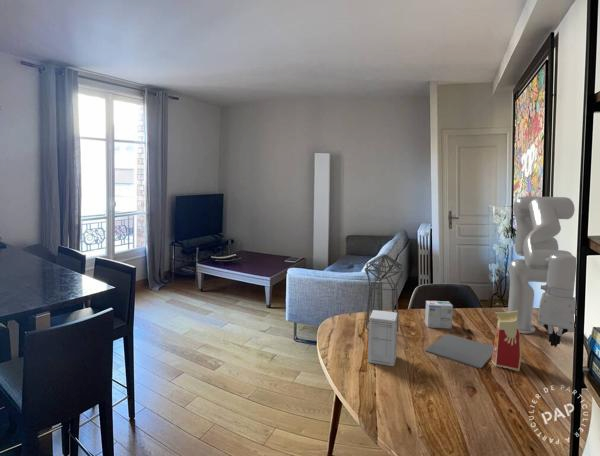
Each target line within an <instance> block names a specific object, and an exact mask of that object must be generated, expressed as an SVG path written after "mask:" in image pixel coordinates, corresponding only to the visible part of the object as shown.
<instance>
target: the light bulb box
mask: <svg viewBox="0 0 600 456" xmlns="http://www.w3.org/2000/svg"><path fill="white" fill-rule="evenodd" d="M453 310H454V305H453V304H452V303H451V302H450V301H447V300H445V301H444V300H443V301H440V300H425V313H424V314H425V316H424V323H425V325H426V327H427V328H434V329H451V330H452V328H453V312H454V311H453Z"/></svg>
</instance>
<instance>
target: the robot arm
mask: <svg viewBox="0 0 600 456" xmlns="http://www.w3.org/2000/svg"><path fill="white" fill-rule="evenodd" d="M512 206H513V215H514V218H515V222H516V230H515V244H514V251H515V254H516V255H518V256H521V257H524V258H518V259H513V260H512V261H511V262H510V263H509V266H508V270H509V271H508V272H509V294H508V302H507V303H508V304H507V306H508V307H507V312H512V311H518V313H517V324H518V328H519V333H520V334H523V335H525V334H528V335H529V334H534V333H535V332H536V328H535V327H534V326H533V325H532V323H533V321H532V320H533V312H534V304H535V303H534V300H535V291H534V288H533V287H532V286H531V284H530V282H535V283H545V284H544V285H542V284H541V285H540V290H543V291H544V292H543V293H542V294H541V298H540V300H539V306H538V312H537V321H536V324H537V325H538V326H541V327H544V329H545V330H546V331H547V332H548V343H550V346H551V347H554V348H557V347H558V345H561V344H560V343H561V336H562V335H564V334H566V333H575V332H574V314H575V298H576V297H575V296H574V294H575V293H574V292H575V284H576V273H577V272H576V271H577V266H576V259H577V257H576V256H575V255H573V254H572V252H570V251H568V250H563V249H562V250H561V249H560V250H559V244H558V240H557V239H556V238H555V237H556V236H557V235H559V233H560V232H561V230H562V228H561V227H562V226H561V224H560V223H561V222H560V220H570V219H572V217H574V215H575V211H576V209H575V204H574V201H573V200H572V198H570V197H565V196H520V197H517V198H516V199H515V200H514V202H513V205H512ZM555 327H556V328H558V329H557V331H555Z"/></svg>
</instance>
